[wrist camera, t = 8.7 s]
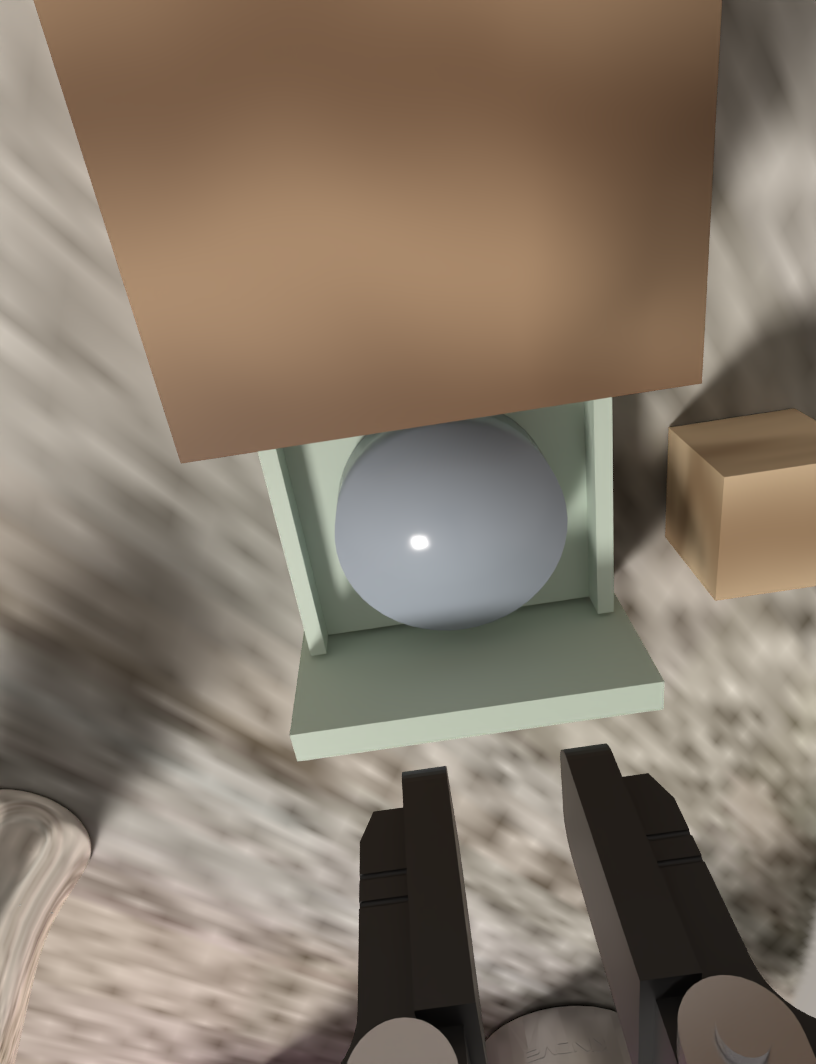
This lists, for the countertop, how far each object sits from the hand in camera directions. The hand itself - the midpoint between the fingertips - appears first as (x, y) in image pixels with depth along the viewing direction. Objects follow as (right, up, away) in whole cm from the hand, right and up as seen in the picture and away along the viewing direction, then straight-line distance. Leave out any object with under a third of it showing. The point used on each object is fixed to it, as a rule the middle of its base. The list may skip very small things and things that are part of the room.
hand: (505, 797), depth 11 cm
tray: (-1, +7, +11) cm, 13 cm away
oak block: (+9, +6, +12) cm, 16 cm away
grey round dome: (0, +5, +10) cm, 11 cm away
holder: (-2, +15, +7) cm, 16 cm away
